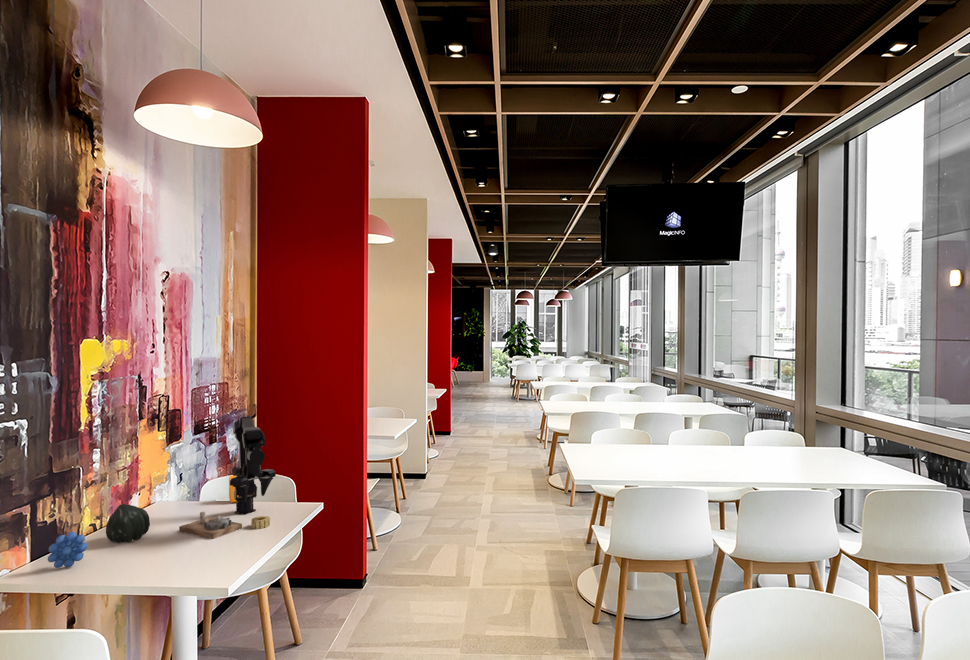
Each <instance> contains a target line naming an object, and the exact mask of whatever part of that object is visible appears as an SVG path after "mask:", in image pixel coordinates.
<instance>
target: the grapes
mask: <svg viewBox="0 0 970 660" xmlns="http://www.w3.org/2000/svg"><path fill="white" fill-rule="evenodd" d="M77 534H78V533H77V532H76V531H70V532H68V533H67V534H66V535H65V534H62V535H58V536H57V537H56V539H55V543H52V544H50V545H49V547H48V552H49V553H50V554H49V555H48V556H47V562H48V563H53V567H54V568H55V569H60V568H62V567H64V568H67V569H68V567H70V568H71V567H72V566H74V564H75V562H80V561H81V560H82V559H83V558H84V555H85V554H84V552H85V551H86V550H87V549H88V547H89V546H88V544H89V543H87V542H85V540H86V536H85V535H84V534H79V535H77Z"/></svg>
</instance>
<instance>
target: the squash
mask: <svg viewBox="0 0 970 660" xmlns="http://www.w3.org/2000/svg"><path fill="white" fill-rule="evenodd" d="M150 526H151V521H150V515H149V514H148V511H146V510H145V509H144V508H142V507H140V506H139V507H138V506H135V505H132V504H126V503H123V504H121V503H120V504H119V505H118V506H117V507H116V509H114V511H113V512H112V514H111V515H110V516H109V518H108V520H107V523H106V525H105V535H106V538H107V540H108V541H110V542H112V543H117V544H122V543H124V542H125V543H131V542H133V541H138V540H140V539H142V537H143V536H144V535H146V534H147V533H148V532H149V529H150Z"/></svg>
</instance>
